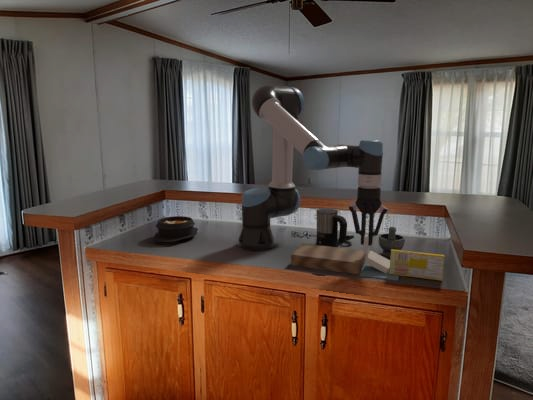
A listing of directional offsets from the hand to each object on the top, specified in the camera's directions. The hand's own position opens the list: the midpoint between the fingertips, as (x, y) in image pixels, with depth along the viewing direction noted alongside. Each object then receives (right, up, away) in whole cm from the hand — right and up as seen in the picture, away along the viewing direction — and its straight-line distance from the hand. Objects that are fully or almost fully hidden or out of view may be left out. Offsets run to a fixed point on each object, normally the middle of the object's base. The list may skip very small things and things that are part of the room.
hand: (366, 253), depth 132 cm
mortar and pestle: (+13, -3, +15) cm, 20 cm away
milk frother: (-6, 0, +29) cm, 29 cm away
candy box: (+14, -7, -8) cm, 17 cm away
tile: (+3, -3, -1) cm, 5 cm away
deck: (-12, -4, +6) cm, 14 cm away
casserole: (-75, +1, +39) cm, 84 cm away
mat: (+5, -5, -1) cm, 7 cm away
